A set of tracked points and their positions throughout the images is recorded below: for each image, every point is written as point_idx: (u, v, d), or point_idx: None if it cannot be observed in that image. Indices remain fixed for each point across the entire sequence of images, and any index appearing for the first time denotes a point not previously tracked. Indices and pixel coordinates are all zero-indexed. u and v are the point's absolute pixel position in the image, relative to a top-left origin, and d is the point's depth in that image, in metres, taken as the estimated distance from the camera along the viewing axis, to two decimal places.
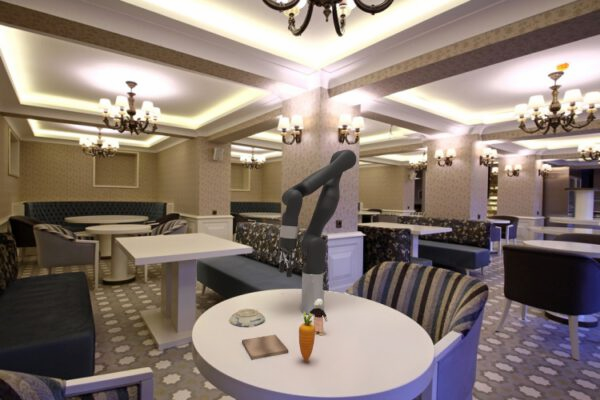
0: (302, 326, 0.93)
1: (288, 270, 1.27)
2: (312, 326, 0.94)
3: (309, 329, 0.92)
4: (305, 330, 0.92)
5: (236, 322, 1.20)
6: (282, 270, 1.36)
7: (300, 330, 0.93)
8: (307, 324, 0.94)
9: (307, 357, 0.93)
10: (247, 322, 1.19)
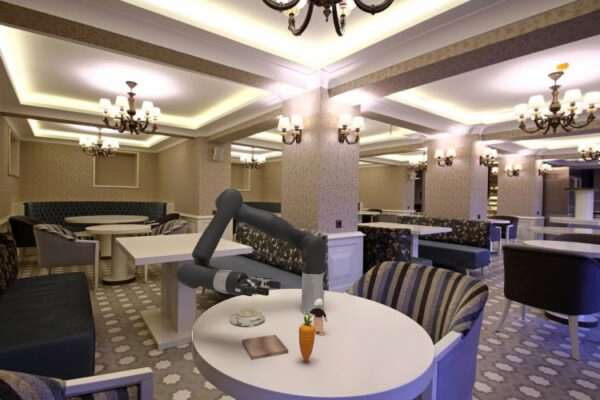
0: (302, 326, 0.93)
1: (259, 293, 0.95)
2: (312, 326, 0.94)
3: (309, 329, 0.92)
4: (305, 330, 0.92)
5: (236, 322, 1.20)
6: (277, 284, 1.02)
7: (300, 330, 0.93)
8: (307, 324, 0.94)
9: (307, 357, 0.93)
10: (247, 322, 1.19)
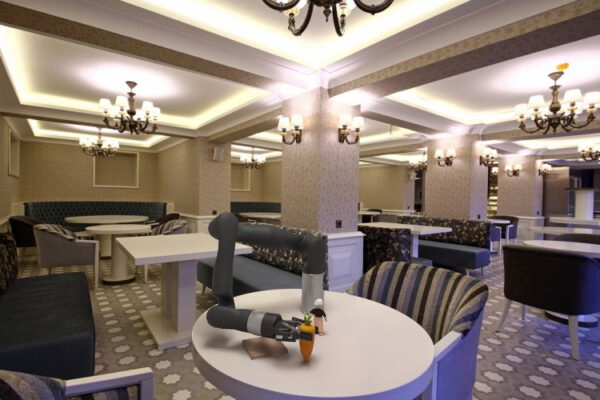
0: (302, 326, 0.94)
1: (303, 338, 0.91)
2: (312, 326, 0.94)
3: (309, 329, 0.92)
4: (305, 330, 0.92)
5: None
6: (315, 329, 0.96)
7: (300, 330, 0.93)
8: (307, 324, 0.94)
9: (307, 357, 0.93)
10: None
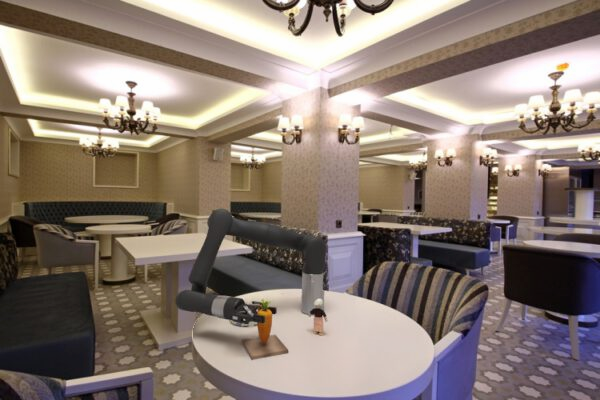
0: (260, 311, 1.02)
1: None
2: (269, 311, 1.02)
3: (265, 314, 1.00)
4: (262, 315, 1.00)
5: (236, 322, 1.20)
6: (273, 310, 1.06)
7: None
8: (264, 310, 1.02)
9: (264, 340, 1.01)
10: None
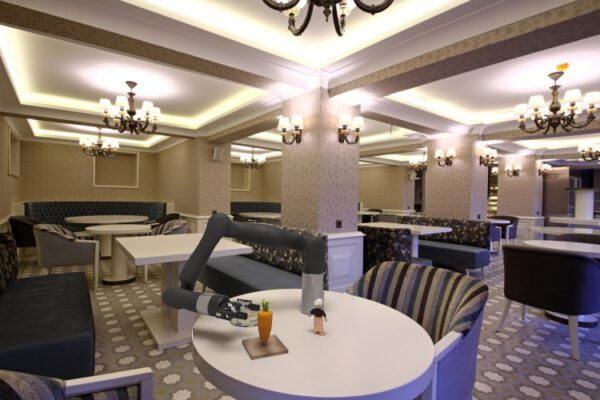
0: (260, 311, 1.02)
1: None
2: (269, 312, 1.02)
3: (266, 314, 1.00)
4: (262, 315, 1.00)
5: (236, 322, 1.20)
6: (257, 307, 1.08)
7: (258, 315, 1.01)
8: (265, 310, 1.02)
9: (265, 340, 1.01)
10: (247, 322, 1.19)
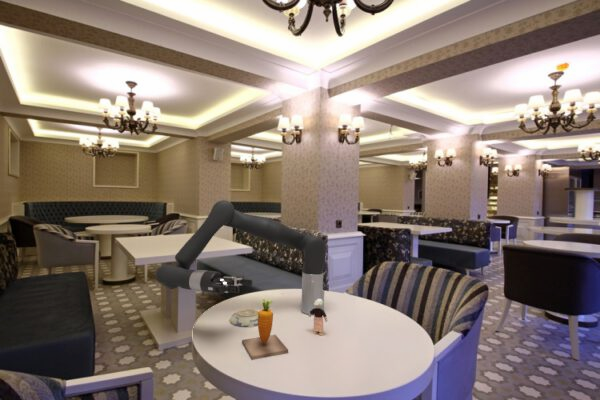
0: (261, 311, 1.02)
1: None
2: (270, 311, 1.02)
3: (266, 314, 1.01)
4: (263, 315, 1.00)
5: (236, 322, 1.20)
6: (249, 282, 1.09)
7: (259, 315, 1.02)
8: (265, 310, 1.02)
9: (265, 340, 1.01)
10: (247, 322, 1.19)
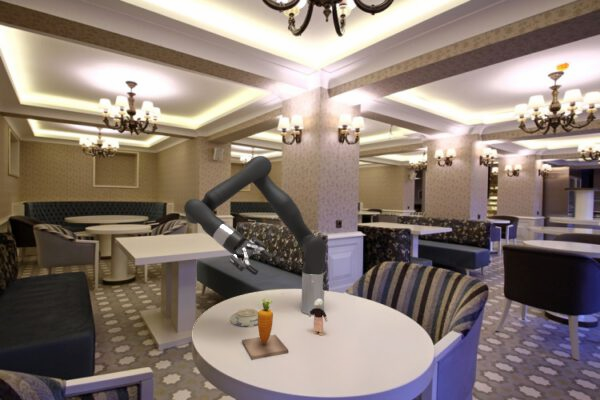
0: (260, 311, 1.02)
1: None
2: (270, 311, 1.02)
3: (266, 314, 1.01)
4: (263, 315, 1.00)
5: (236, 322, 1.20)
6: (268, 257, 1.13)
7: (259, 315, 1.02)
8: (265, 310, 1.02)
9: (265, 340, 1.01)
10: (247, 322, 1.19)
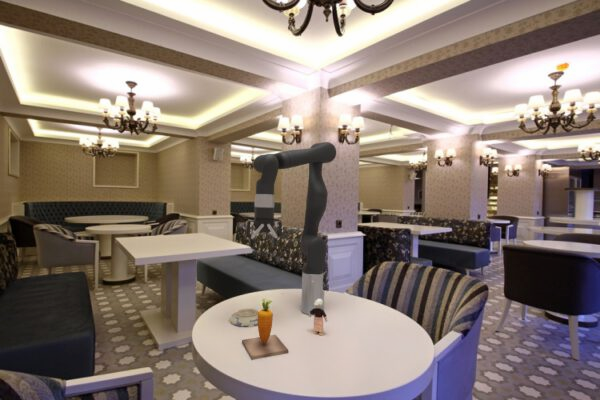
0: (260, 311, 1.02)
1: None
2: (269, 311, 1.02)
3: (266, 314, 1.01)
4: (262, 315, 1.00)
5: (236, 322, 1.20)
6: (273, 245, 1.21)
7: (258, 315, 1.02)
8: (265, 310, 1.02)
9: (265, 340, 1.01)
10: (247, 322, 1.19)
